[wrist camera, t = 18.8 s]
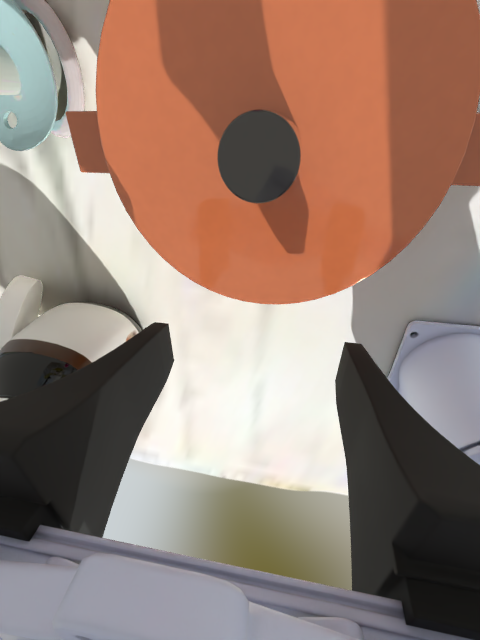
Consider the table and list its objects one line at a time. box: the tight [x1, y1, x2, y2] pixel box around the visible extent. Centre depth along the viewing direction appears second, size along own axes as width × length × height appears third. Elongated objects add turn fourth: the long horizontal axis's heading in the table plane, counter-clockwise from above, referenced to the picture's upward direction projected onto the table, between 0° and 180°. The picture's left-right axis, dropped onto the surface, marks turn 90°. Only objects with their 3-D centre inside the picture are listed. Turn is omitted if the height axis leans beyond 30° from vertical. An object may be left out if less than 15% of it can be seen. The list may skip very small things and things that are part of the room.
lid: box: [96, 0, 480, 304], centre depth 11 cm, size 14×14×5 cm
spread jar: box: [0, 275, 142, 402], centre depth 23 cm, size 12×11×12 cm
